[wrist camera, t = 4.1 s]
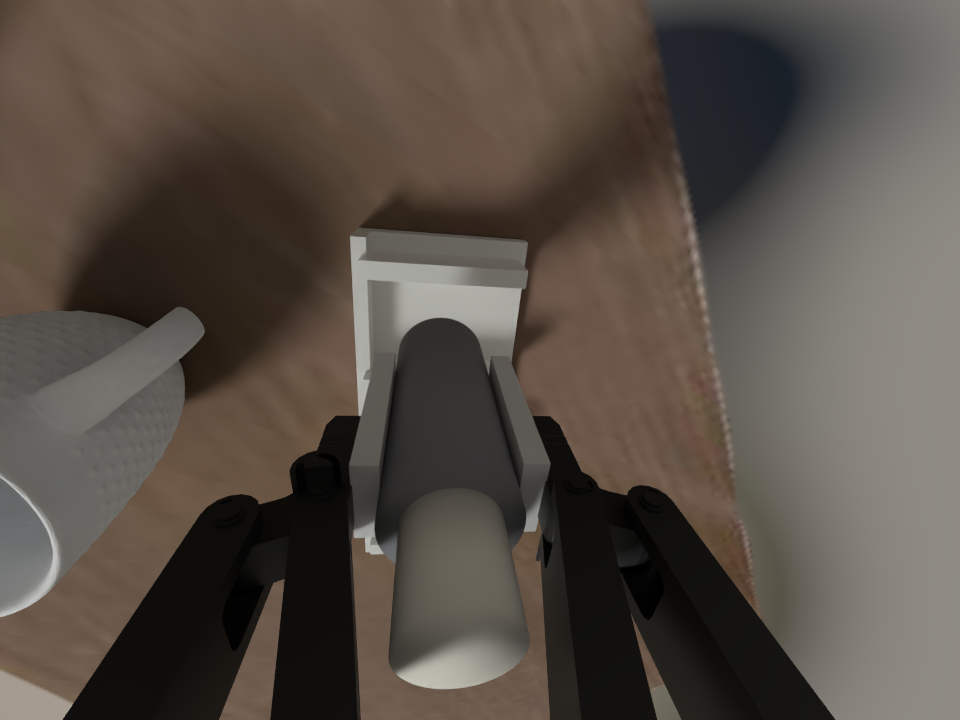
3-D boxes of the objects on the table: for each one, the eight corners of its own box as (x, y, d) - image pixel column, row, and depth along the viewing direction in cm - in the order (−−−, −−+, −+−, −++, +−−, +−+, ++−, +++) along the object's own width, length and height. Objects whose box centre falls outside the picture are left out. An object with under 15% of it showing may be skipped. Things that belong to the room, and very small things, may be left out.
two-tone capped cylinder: (397, 316, 18) (348, 596, 7) (484, 318, 19) (575, 580, 7) (399, 391, 20) (362, 712, 9) (478, 391, 21) (543, 692, 9)
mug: (163, 207, 22) (-131, 259, 11) (302, 357, 27) (205, 507, 15) (-23, 342, 24) (-440, 511, 13) (137, 459, 29) (-59, 661, 17)
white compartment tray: (359, 227, 24) (346, 239, 20) (536, 240, 25) (554, 254, 22) (370, 521, 34) (363, 563, 31) (496, 518, 36) (503, 558, 32)
